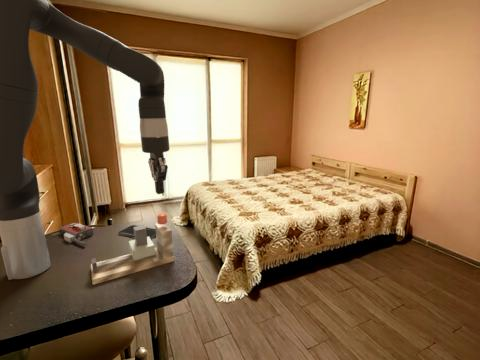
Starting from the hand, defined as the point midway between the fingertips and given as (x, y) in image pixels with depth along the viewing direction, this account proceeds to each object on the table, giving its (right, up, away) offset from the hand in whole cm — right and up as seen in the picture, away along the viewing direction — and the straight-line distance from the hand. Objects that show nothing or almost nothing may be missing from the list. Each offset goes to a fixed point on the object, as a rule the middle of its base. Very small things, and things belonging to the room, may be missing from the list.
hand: (160, 193), depth 77 cm
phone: (-14, -17, +21) cm, 31 cm away
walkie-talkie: (-36, -18, +19) cm, 44 cm away
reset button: (0, -9, +2) cm, 9 cm away
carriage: (-6, -18, +1) cm, 19 cm away
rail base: (-8, -22, 0) cm, 23 cm away
